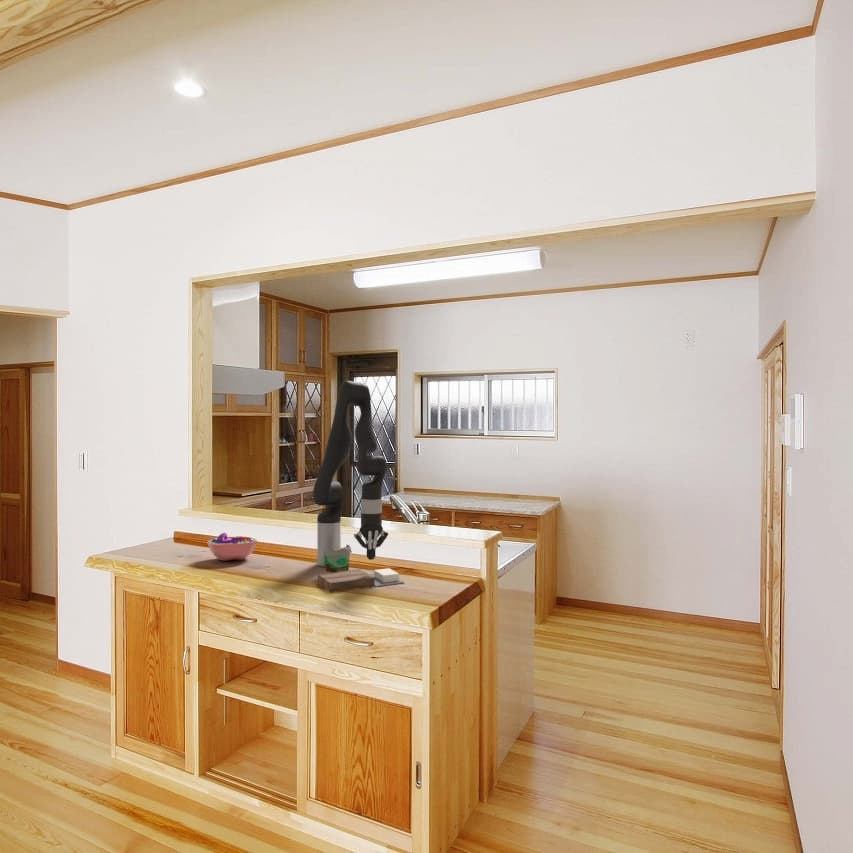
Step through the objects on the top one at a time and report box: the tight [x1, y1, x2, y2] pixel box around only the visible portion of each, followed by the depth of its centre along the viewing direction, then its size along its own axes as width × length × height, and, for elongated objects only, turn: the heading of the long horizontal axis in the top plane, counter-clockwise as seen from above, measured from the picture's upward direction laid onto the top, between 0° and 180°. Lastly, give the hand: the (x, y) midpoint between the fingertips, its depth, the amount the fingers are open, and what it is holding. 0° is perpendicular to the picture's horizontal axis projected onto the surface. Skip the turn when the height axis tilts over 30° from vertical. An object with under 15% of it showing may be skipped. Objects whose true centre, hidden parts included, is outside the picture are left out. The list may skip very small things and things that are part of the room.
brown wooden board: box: [317, 568, 375, 593], centre depth 221 cm, size 14×16×3 cm
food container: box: [323, 544, 352, 573], centre depth 235 cm, size 12×6×10 cm, turn 139°
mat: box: [368, 573, 405, 588], centre depth 227 cm, size 16×11×1 cm
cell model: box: [206, 532, 258, 562], centre depth 259 cm, size 17×20×11 cm
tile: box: [373, 567, 400, 583], centre depth 227 cm, size 9×6×2 cm, turn 26°
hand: (370, 559), depth 226 cm, fingers closed
